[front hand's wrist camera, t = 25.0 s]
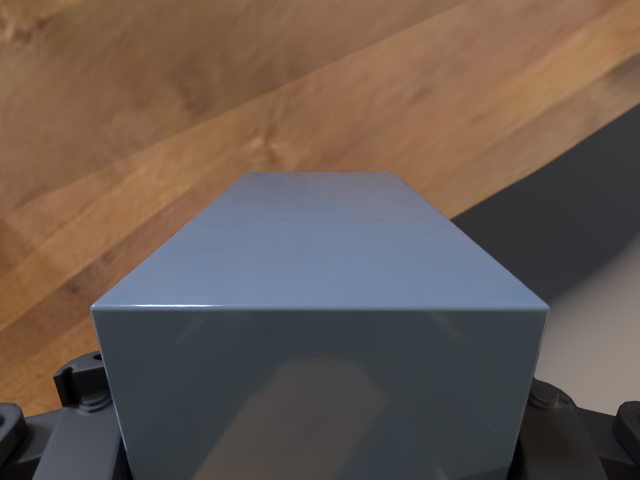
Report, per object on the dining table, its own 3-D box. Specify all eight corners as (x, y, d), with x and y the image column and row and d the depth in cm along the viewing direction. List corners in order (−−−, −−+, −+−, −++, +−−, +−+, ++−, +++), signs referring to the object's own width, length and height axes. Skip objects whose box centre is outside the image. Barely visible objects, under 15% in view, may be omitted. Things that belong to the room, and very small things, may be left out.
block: (382, 334, 18) (467, 640, 8) (257, 334, 18) (172, 640, 8) (393, 171, 16) (554, 306, 5) (246, 171, 16) (85, 307, 5)
